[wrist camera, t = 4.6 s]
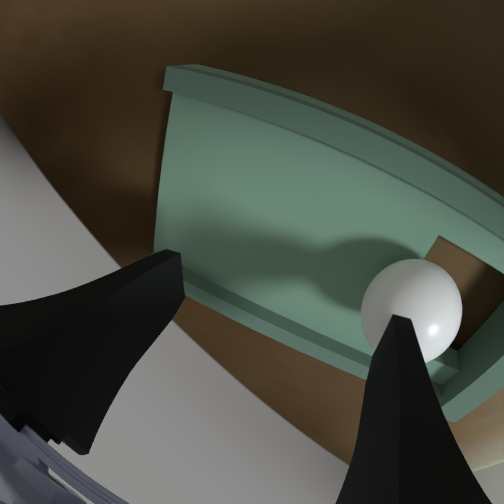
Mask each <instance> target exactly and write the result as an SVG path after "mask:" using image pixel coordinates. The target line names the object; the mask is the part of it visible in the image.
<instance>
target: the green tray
mask: <svg viewBox="0 0 504 504" xmlns="http://www.w3.org/2000/svg"><path fill="white" fill-rule="evenodd" d="M163 90H166V91H170V92H173V96H172V101H171V107H170V113H169V119H168V125H167V132H166V138H165V145H164V152H163V160H162V168H161V176H160V184H159V193H158V203H157V213H156V224H155V237H154V250H153V253H151V254H150V255H152V254H154V253H157V252H159V251H162V250H165V249H169V250H172V251H175V252H179V253H181V262H182V272H183V282H184V292H185V295H186V296H188V297H190V298H192V299H194V300H196V301H198V302H200V303H202V304H203V305H205V306H207V307H209V308H211V309H213V310H215V311H217V312H219V313H221V314H223V315H225V316H227V317H229V318H231V319H233V320H235V321H237V322H239V323H241V324H243V325H245V326H247V327H249V328H251V329H253V330H255V331H257V332H260V333H262V334H264V335H266V336H268V337H270V338H272V339H274V340H276V341H279V342H281V343H283V344H285V345H287V346H289V347H292V348H294V349H296V350H298V351H300V352H303V353H305V354H307V355H309V356H311V357H314V358H316V359H318V360H321V361H323V362H325V363H327V364H330V365H332V366H334V367H337V368H339V369H341V370H344V371H346V372H348V373H351V374H353V375H356V376H358V377H361V378H363V379H365V380H367V376H368V372H369V368H370V363H371V359H372V355H373V353H374V352H375V351H374V350H373V348H372V347H371V346H370V345H369V343H368V341H367V339H366V337H365V335H364V332H363V329H362V324H361V306H362V301H363V297H364V295H365V292H366V290H367V288H368V286H369V284H370V283H371V281H372V280H373V279H374V278H375V276H376V275H377V274H378V273H380V272H381V271H382V270H383V269H384V268H386V267H388V266H389V265H391V264H393V263H395V262H398V261H401V260H406V259H422V260H423V259H424V257H425V256H426V254H427V253H428V251H429V250H430V248H431V246H432V245H433V243H434V242H435V240H436V239H437V237H438V235H440V236H442V237H443V238H445V239H447V240H449V241H450V242H452V243H454V244H456V245H457V246H459V247H461V248H463V249H464V250H466V251H468V252H469V253H471V254H473V255H474V256H476V257H478V258H479V259H481V260H483V261H484V262H486V263H487V264H489V265H491V266H492V267H494V268H495V269H497V270H499V271H500V272H502V273H503V274H504V197H503V196H501V195H500V194H498V193H497V192H495V191H494V190H493V189H491V188H490V187H488V186H487V185H485V184H484V183H482V182H481V181H479V180H477V179H476V178H474V177H473V176H471V175H470V174H468V173H466V172H465V171H463V170H462V169H460V168H458V167H457V166H455V165H453V164H452V163H450V162H448V161H446V160H445V159H443V158H441V157H439V156H438V155H436V154H434V153H432V152H431V151H429V150H427V149H425V148H423V147H421V146H419V145H418V144H416V143H414V142H412V141H410V140H408V139H406V138H404V137H402V136H400V135H398V134H396V133H394V132H392V131H390V130H388V129H386V128H384V127H381V126H379V125H377V124H375V123H373V122H371V121H368V120H366V119H364V118H362V117H359V116H357V115H355V114H352V113H350V112H348V111H345V110H343V109H340V108H338V107H335V106H333V105H330V104H328V103H325V102H323V101H320V100H317V99H315V98H312V97H309V96H306V95H304V94H301V93H298V92H295V91H292V90H289V89H286V88H283V87H280V86H277V85H274V84H271V83H267V82H264V81H261V80H257V79H254V78H250V77H247V76H243V75H240V74H236V73H232V72H228V71H224V70H220V69H216V68H212V67H208V66H203V65H199V64H191V65H175V66H167V68H166V74H165V79H164V85H163ZM150 255H149V256H150ZM425 364H426V367H427V369H428V372H429V375H430V378H431V381H432V384H433V387H434V390H435V392H436V395H437V398H438V400H439V403H440V406H441V408H442V411H443V413H444V416H445V418H446V420H448V421H451V422H454V423H455V422H456V421H458V420H459V419H461V418H462V417H463V416H465V415H466V414H468V413H469V412H471V411H472V410H473V409H475V408H476V407H478V406H479V405H480V404H482V403H483V402H484V401H486V400H487V399H488V398H490V397H491V396H492V395H493V394H495V393H496V392H497V391H498V390H500V389H501V388H502V387H503V386H504V301H503V302H502V303H501V304H500V306H499V307H498V308H497V309H496V310H495V311H494V312H493V314H492V315H491V316H490V317H489V318H488V319H487V320H486V321H485V323H484V324H483V325H482V326H481V327H480V328H479V329H478V330H477V331H476V332H475V333H474V334H473V335H472V336H471V338H470V339H469V340H468V341H467V342H466V343H465V344H464V345H463V346H462V347H461V348H460V349H459V350H458V351H456V350H454V349H452V348H450V347H448V348H447V349H446V350H445V351H444V352H443V353H442V354H441V355H439V356H438V357H437V358H435V359H433V360H431V361H429V362H427V363H425Z"/></svg>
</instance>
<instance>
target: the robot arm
mask: <svg viewBox="0 0 504 504" xmlns="http://www.w3.org/2000/svg"><path fill="white" fill-rule="evenodd" d="M184 298H185V292H184V282H183V272H182V262H181V253H179V252H175V251H172V250H169V249H165V250H162V251H159V252H157V253H154V254H152V255H150V256H148V257H145V258H143V259H141V260H139V261H137V262H134V263H132V264H130V265H128V266H126V267H124V268H121V269H119V270H117V271H115V272H113V273H110V274H108V275H106V276H104V277H101V278H98V279H96V280H94V281H91V282H89V283H87V284H84V285H81V286H79V287H76V288H73V289H70V290H67V291H65V292H61V293H58V294H55V295H51V296H47V297H43V298H39V299H36V300H31V301H26V302H21V303H15V304H9V305H1V306H0V504H87V503H86V502H85V501H84V500H83V499H82V498H81V497H80V496H79V495H78V494H76V493H75V492H74V491H73V490H71V489H70V488H69V487H67V486H66V485H64V484H63V483H61V482H60V481H59V480H57V479H56V478H54V477H53V476H51V475H50V474H49V473H48V467H49V468H50V469H51V470H52V471H54V472H55V473H56V474H57V475H58V476H59V477H61V478H62V479H63V480H64V481H66V482H67V483H68V484H69V485H71V486H72V487H73V488H74V489H76V490H77V491H78V492H80V493H81V494H83V495H84V496H85V497H86V498H88V499H89V500H90V501H92V502H93V503H95V504H129V503H128V502H126V501H124V500H123V499H121V498H120V497H118V496H116V495H115V494H113V493H112V492H110V491H109V490H107V489H106V488H104V487H103V486H101V485H100V484H99V483H97V482H96V481H94V480H93V479H91V478H90V477H88V476H87V475H86V474H84V473H83V472H82V471H81V470H79V469H78V468H77V467H75V466H74V465H73V464H72V463H70V462H69V461H68V460H66V459H65V458H64V457H63V456H62V455H60V454H59V453H58V452H57V451H56V450H54V449H53V448H52V447H51V446H50V445H48V444H47V443H48V441H49V440H50V439H52V440H53V441H54V442H55V443H57V444H60V443H61V442H63V443H65V444H66V445H67V446H68V447H70V448H71V449H72V450H74V451H75V452H76V453H77V454H79V455H86V454H89V451H90V448H91V446H92V443H93V441H94V438H95V436H96V434H97V432H98V429H99V427H100V425H101V423H102V421H103V419H104V417H105V415H106V413H107V411H108V409H109V407H110V405H111V404H112V402H113V400H114V398H115V396H116V395H117V393H118V391H119V389H120V387H121V386H122V385H123V383H124V381H125V380H126V378H127V377H128V375H129V373H130V372H131V370H132V369H133V368H134V366H135V365H136V363H137V362H138V361H139V360H140V358H141V357H142V356H143V355H144V353H145V352H146V351H147V350H148V348H149V347H150V346H151V345H152V344H153V342H154V341H155V340H156V339H157V337H158V336H159V335H160V334H161V332H162V331H163V330H164V329H165V327H166V326H167V325H168V323H169V322H170V321H171V320H172V318H173V317H174V315H175V314H176V312H177V310H178V309H179V307H180V305H181V303H182V302H183V300H184ZM336 504H492V503H491V502H490V500H489V499H488V497H487V496H486V494H485V493H484V492H483V490H482V488H481V486H480V485H479V483H478V482H477V480H476V478H475V476H474V475H473V473H472V471H471V469H470V467H469V466H468V464H467V462H466V460H465V458H464V456H463V454H462V452H461V450H460V448H459V447H458V445H457V443H456V440H455V438H454V436H453V434H452V432H451V430H450V427H449V425H448V423H447V420H446V418H445V416H444V413H443V411H442V408H441V406H440V403H439V400H438V398H437V395H436V392H435V390H434V387H433V384H432V381H431V378H430V375H429V372H428V369H427V367H426V364H425V361H424V358H423V354H422V351H421V348H420V345H419V342H418V339H417V335H416V332H415V329H414V326H413V323H412V320H411V319H410V318H406V317H403V316H399V315H395V314H392V317H391V319H390V321H389V323H388V325H387V327H386V329H385V331H384V333H383V336H382V338H381V340H380V342H379V344H378V346H377V348H376V350H375V352H374V353H373V355H372V359H371V363H370V368H369V372H368V376H367V380H366V385H365V392H364V398H363V405H362V412H361V418H360V424H359V430H358V435H357V441H356V445H355V449H354V453H353V457H352V460H351V463H350V466H349V469H348V472H347V475H346V478H345V481H344V483H343V486H342V489H341V491H340V494H339V496H338V499H337V501H336Z"/></svg>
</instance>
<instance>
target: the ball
mask: <svg viewBox="0 0 504 504" xmlns="http://www.w3.org/2000/svg"><path fill="white" fill-rule="evenodd" d="M392 314H395V315H399V316H403V317H406V318H410V319H411V320H412V323H413V326H414V329H415V332H416V335H417V339H418V342H419V345H420V348H421V351H422V354H423V358H424V361H425V363H427V362H429V361H431V360H433V359H435V358H437V357H438V356H439V355H441V354H442V353H443V352H444V351H445V350H446V349H447V348H448V347H449V346H450V344H451V343H452V342H453V340H454V338H455V337H456V335H457V332H458V330H459V327H460V323H461V318H462V302H461V296H460V293H459V290H458V288H457V286H456V284H455V282H454V280H453V279H452V278H451V276H450V275H449V274H448V273H447V272H446V271H445V270H444V269H442V268H441V267H439V266H438V265H436V264H434V263H432V262H429V261H426V260H422V259H406V260H401V261H398V262H395V263H393V264H391V265H389V266H388V267H386V268H384V269H383V270H382V271H381V272H380V273H378V274H377V275H376V276H375V278H374V279H373V280H372V281H371V283H370V284H369V286H368V288H367V290H366V292H365V295H364V297H363V301H362V306H361V324H362V329H363V332H364V335H365V337H366V339H367V341H368V343H369V345H370V346H371V347H372V348H373V350H374V351H375V350H376V348H377V346H378V344H379V342H380V340H381V338H382V336H383V333H384V331H385V329H386V327H387V325H388V323H389V321H390V319H391V317H392Z"/></svg>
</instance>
